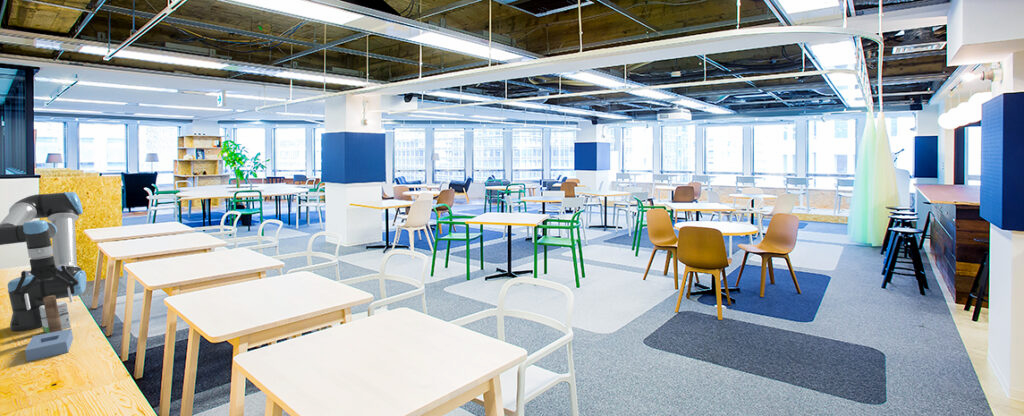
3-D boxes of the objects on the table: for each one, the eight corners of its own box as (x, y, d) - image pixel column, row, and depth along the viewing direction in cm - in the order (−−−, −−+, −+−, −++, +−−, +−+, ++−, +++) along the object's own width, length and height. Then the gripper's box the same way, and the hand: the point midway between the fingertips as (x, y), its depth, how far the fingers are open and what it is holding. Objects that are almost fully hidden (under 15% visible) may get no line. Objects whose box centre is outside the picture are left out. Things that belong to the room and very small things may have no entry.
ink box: (46, 333, 220) (41, 308, 218) (43, 331, 223) (38, 306, 221) (71, 326, 227) (67, 302, 226) (67, 325, 230) (63, 300, 228)
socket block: (34, 346, 206) (32, 336, 206) (73, 338, 213) (71, 328, 212) (26, 361, 192) (24, 350, 191) (68, 352, 199) (66, 341, 198)
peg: (51, 336, 217) (43, 296, 214) (63, 334, 219) (56, 294, 216) (50, 339, 213) (42, 299, 211) (62, 336, 216) (54, 296, 213)
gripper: (-3, 264, 200) (8, 314, 203) (79, 253, 215) (87, 300, 218) (2, 261, 206) (12, 310, 209) (80, 250, 221) (89, 296, 224)
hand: (50, 305), depth 214 cm, fingers open, 13 cm apart
